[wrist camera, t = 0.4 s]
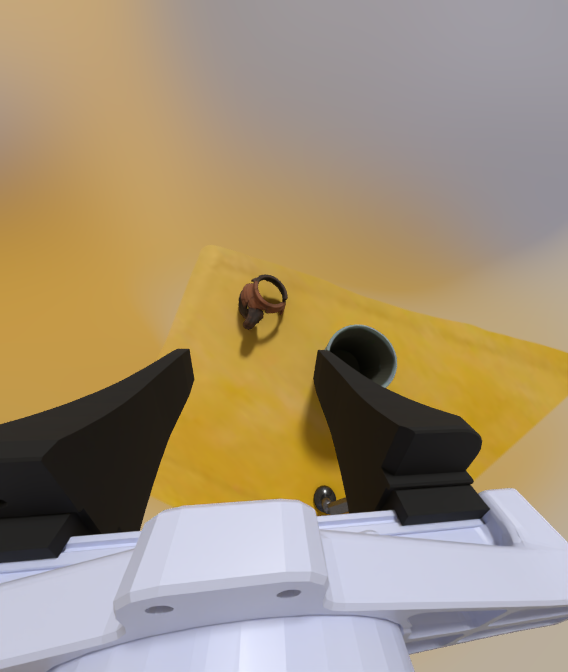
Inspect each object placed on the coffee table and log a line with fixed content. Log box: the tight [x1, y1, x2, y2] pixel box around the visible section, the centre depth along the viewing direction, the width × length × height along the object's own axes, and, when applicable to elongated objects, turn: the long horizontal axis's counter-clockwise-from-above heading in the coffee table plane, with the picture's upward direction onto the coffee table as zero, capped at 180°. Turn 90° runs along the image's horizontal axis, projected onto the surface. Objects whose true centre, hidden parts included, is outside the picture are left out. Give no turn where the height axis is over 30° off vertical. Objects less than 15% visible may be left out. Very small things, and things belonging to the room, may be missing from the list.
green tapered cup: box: [325, 325, 397, 388], centre depth 35 cm, size 10×10×12 cm
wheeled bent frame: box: [314, 486, 349, 515], centre depth 34 cm, size 12×22×4 cm, turn 105°
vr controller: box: [239, 275, 288, 330], centre depth 42 cm, size 12×10×8 cm
